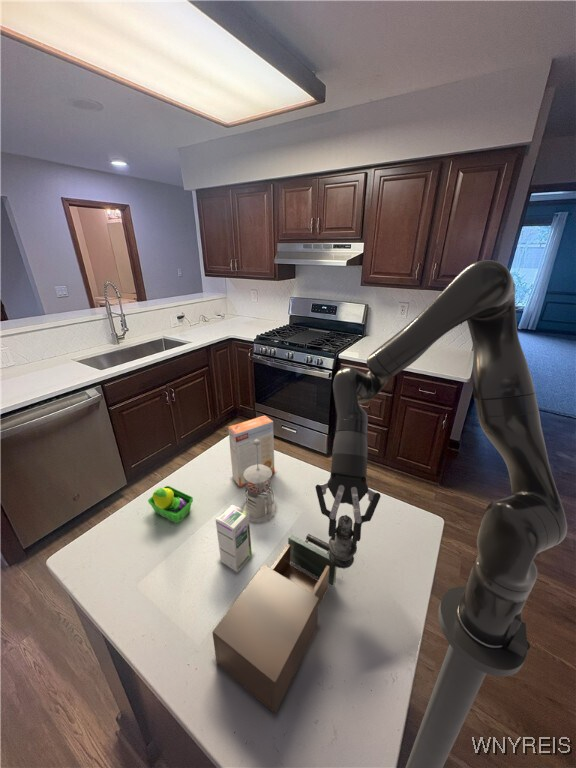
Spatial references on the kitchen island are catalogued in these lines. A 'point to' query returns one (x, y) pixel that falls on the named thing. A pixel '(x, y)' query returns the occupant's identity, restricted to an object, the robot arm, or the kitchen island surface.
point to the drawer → (307, 565)
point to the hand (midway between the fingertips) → (343, 541)
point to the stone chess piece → (343, 544)
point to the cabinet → (266, 635)
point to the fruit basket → (171, 503)
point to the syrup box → (234, 537)
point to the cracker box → (251, 446)
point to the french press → (258, 492)
